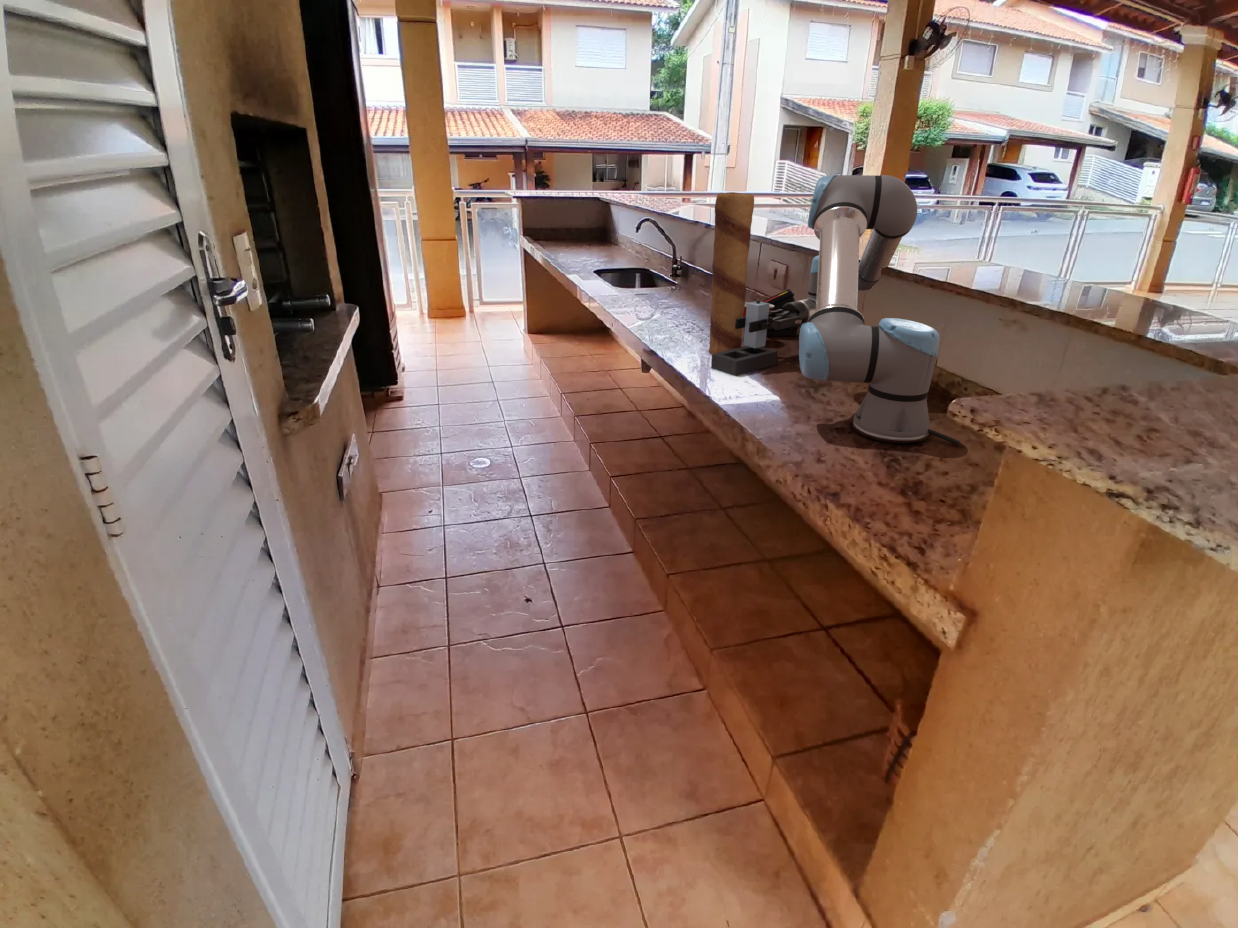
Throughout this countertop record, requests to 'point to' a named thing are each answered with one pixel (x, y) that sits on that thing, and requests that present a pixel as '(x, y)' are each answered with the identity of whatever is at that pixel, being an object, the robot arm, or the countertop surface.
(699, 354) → the countertop surface
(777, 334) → the magazine
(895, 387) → the robot arm
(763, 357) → the cinder block
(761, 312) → the grey rectangular block
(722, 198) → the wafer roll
